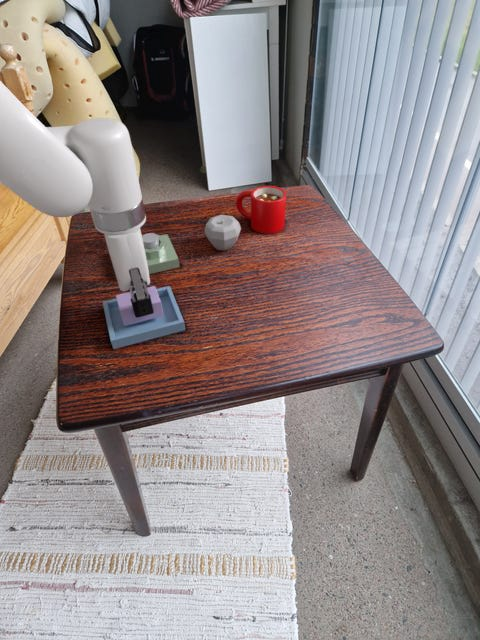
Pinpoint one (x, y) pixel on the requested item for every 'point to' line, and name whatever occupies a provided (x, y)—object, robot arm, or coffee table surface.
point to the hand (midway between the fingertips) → (141, 304)
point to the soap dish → (144, 322)
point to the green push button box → (162, 256)
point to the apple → (222, 231)
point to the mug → (264, 208)
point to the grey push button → (150, 240)
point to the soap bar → (128, 311)
